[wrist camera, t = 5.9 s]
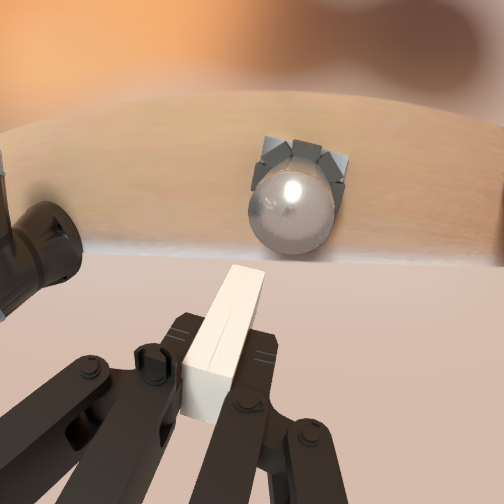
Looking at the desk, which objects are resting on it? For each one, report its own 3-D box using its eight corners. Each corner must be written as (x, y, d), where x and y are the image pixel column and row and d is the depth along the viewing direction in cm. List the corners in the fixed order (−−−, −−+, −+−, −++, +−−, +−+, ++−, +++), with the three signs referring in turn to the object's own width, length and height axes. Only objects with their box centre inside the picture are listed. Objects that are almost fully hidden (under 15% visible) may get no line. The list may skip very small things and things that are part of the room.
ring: (248, 214, 38) (245, 219, 36) (264, 132, 34) (261, 133, 32) (329, 234, 37) (329, 240, 35) (351, 153, 33) (353, 155, 31)
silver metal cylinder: (261, 209, 35) (241, 243, 26) (273, 150, 32) (257, 163, 23) (320, 223, 35) (321, 263, 26) (335, 165, 32) (344, 184, 23)
